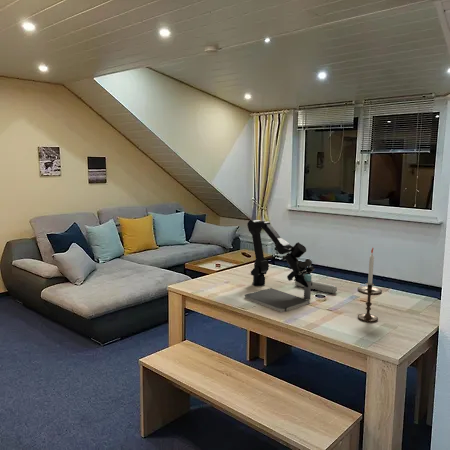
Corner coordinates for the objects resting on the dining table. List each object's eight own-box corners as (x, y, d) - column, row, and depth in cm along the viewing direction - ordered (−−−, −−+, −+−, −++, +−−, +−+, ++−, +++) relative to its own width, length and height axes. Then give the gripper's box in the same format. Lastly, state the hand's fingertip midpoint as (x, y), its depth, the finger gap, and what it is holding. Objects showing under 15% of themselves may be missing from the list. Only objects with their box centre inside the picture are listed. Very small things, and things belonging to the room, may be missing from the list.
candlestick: (381, 324, 193) (387, 249, 188) (357, 322, 195) (361, 248, 190) (377, 315, 203) (382, 244, 198) (354, 314, 205) (358, 243, 200)
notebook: (309, 304, 220) (270, 291, 241) (309, 300, 220) (271, 287, 241) (281, 313, 206) (243, 298, 228) (281, 309, 206) (243, 294, 227)
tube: (339, 286, 239) (299, 277, 254) (335, 285, 235) (296, 276, 250) (337, 295, 239) (298, 286, 254) (334, 294, 234) (294, 285, 249)
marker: (304, 299, 227) (305, 276, 225) (302, 297, 230) (303, 274, 228) (311, 299, 227) (312, 275, 225) (309, 297, 231) (310, 274, 229)
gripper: (292, 256, 221) (309, 281, 215) (312, 251, 234) (328, 275, 228) (280, 268, 228) (296, 292, 222) (300, 263, 241) (315, 285, 235)
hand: (309, 286), depth 227 cm, fingers closed on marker, 4 cm apart
